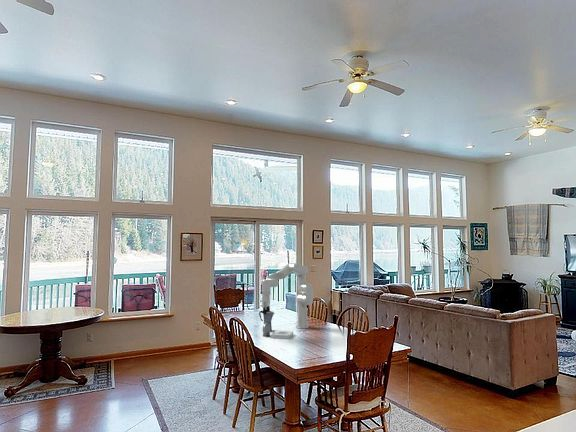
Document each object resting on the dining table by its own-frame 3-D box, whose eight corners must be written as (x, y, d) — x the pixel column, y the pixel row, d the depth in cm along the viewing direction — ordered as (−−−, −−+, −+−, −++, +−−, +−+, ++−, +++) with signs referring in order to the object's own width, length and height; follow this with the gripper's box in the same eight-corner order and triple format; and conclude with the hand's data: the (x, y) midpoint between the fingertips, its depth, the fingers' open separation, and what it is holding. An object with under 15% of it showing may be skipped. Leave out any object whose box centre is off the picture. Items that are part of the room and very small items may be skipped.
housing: (276, 333, 343) (276, 330, 343) (293, 334, 339) (293, 331, 339) (271, 338, 327) (270, 334, 327) (288, 339, 323) (288, 335, 323)
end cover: (264, 335, 338) (264, 322, 339) (270, 335, 337) (270, 322, 337) (262, 336, 332) (262, 323, 333) (268, 337, 331) (268, 323, 332)
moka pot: (273, 332, 349) (273, 310, 350) (257, 331, 352) (257, 309, 353) (275, 329, 358) (275, 308, 360) (260, 329, 361) (260, 307, 363)
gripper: (265, 292, 346) (265, 311, 345) (259, 294, 329) (259, 314, 328) (273, 292, 344) (273, 311, 343) (267, 294, 328) (267, 315, 327)
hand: (266, 313), depth 336 cm, fingers open, 9 cm apart
